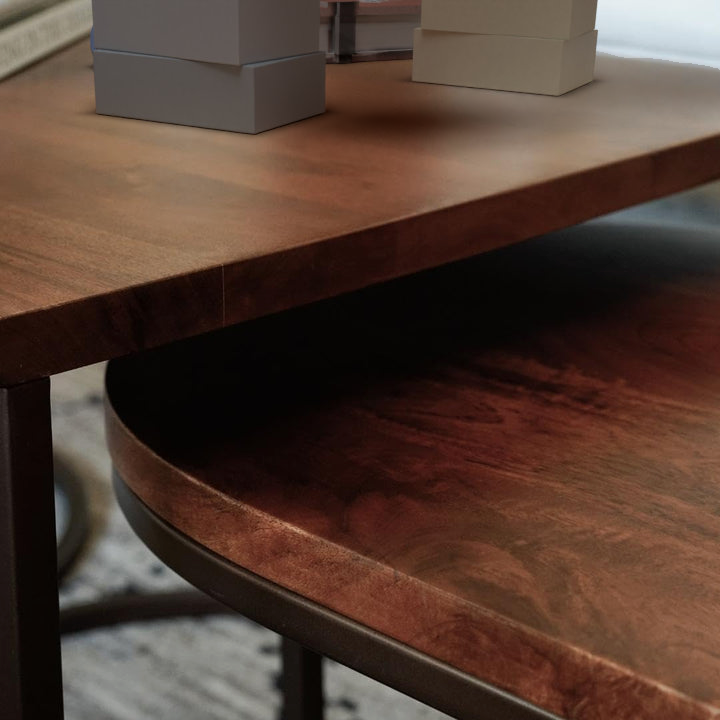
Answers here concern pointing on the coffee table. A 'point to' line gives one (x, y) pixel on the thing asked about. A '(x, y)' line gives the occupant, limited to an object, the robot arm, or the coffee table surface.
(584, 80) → the cream stack
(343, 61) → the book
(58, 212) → the coffee table surface
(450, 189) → the coffee table surface
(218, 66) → the grey stack
